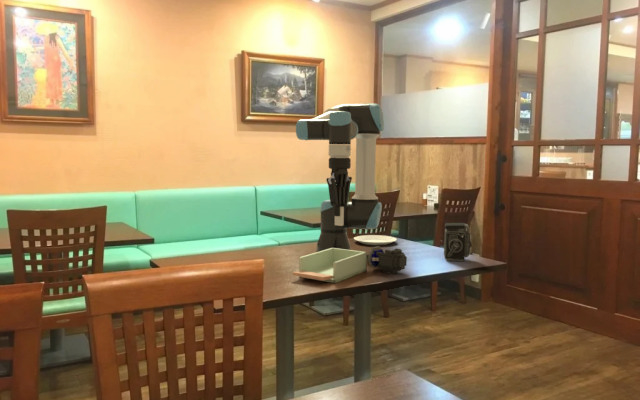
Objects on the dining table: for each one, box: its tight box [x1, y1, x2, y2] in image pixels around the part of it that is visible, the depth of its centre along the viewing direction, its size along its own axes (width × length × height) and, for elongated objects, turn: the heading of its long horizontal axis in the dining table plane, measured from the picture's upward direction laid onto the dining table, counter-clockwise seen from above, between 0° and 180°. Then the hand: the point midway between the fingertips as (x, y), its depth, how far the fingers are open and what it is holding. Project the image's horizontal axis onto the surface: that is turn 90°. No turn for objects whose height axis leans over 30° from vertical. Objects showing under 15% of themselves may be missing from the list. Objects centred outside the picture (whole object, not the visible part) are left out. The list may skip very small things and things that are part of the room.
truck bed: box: [298, 248, 368, 284], centre depth 183 cm, size 15×22×7 cm
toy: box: [367, 245, 408, 275], centre depth 187 cm, size 9×9×15 cm
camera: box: [443, 222, 473, 262], centre depth 208 cm, size 10×10×15 cm
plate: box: [353, 234, 398, 246], centre depth 247 cm, size 21×21×2 cm
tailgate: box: [292, 270, 333, 281], centre depth 172 cm, size 12×1×7 cm
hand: (339, 225), depth 176 cm, fingers closed
